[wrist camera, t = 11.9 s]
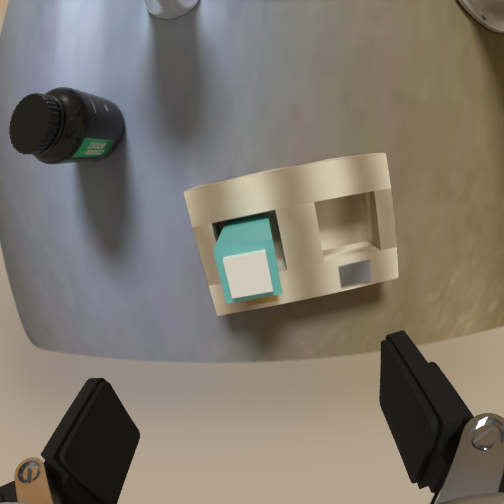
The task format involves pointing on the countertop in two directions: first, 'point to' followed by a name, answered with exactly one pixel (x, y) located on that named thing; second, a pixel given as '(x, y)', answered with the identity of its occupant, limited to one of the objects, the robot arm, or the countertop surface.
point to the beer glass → (169, 7)
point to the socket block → (306, 226)
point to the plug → (247, 259)
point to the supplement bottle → (66, 126)
